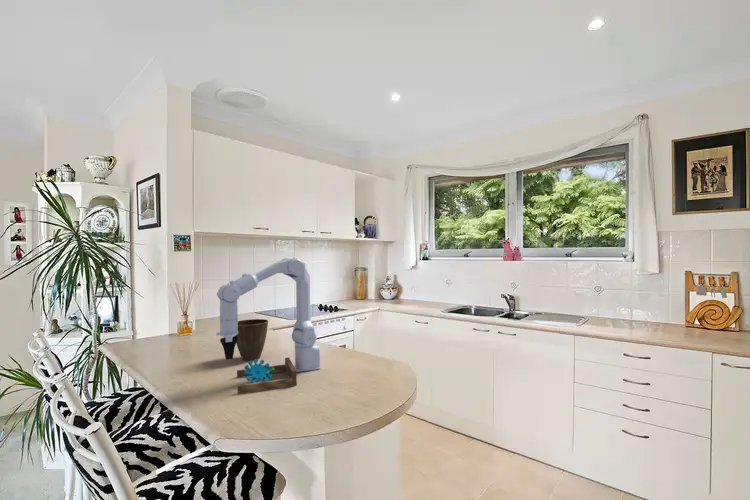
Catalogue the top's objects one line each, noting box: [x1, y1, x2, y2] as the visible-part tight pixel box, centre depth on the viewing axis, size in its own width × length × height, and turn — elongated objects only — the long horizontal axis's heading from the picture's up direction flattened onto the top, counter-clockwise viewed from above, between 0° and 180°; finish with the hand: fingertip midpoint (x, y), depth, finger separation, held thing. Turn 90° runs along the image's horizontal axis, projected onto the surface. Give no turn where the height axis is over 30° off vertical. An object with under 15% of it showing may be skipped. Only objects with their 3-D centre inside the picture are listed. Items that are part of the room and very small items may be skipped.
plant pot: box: [235, 318, 269, 362], centre depth 160 cm, size 15×15×16 cm
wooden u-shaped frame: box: [236, 357, 298, 395], centre depth 131 cm, size 19×18×5 cm
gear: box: [243, 359, 275, 383], centre depth 131 cm, size 11×6×10 cm
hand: (229, 358), depth 126 cm, fingers closed
